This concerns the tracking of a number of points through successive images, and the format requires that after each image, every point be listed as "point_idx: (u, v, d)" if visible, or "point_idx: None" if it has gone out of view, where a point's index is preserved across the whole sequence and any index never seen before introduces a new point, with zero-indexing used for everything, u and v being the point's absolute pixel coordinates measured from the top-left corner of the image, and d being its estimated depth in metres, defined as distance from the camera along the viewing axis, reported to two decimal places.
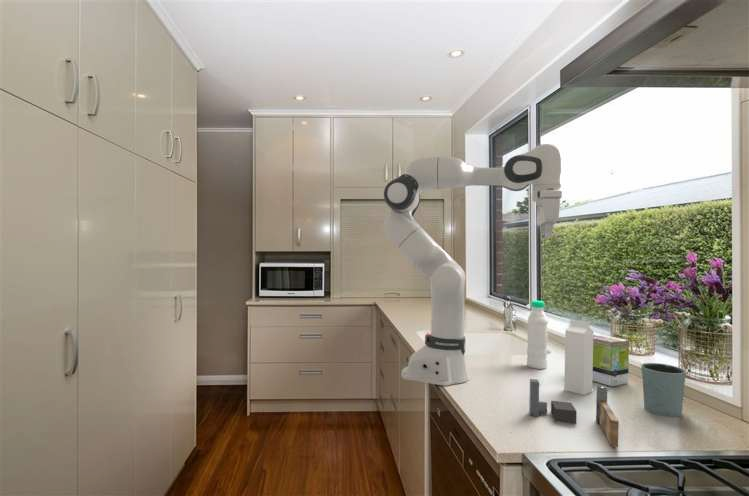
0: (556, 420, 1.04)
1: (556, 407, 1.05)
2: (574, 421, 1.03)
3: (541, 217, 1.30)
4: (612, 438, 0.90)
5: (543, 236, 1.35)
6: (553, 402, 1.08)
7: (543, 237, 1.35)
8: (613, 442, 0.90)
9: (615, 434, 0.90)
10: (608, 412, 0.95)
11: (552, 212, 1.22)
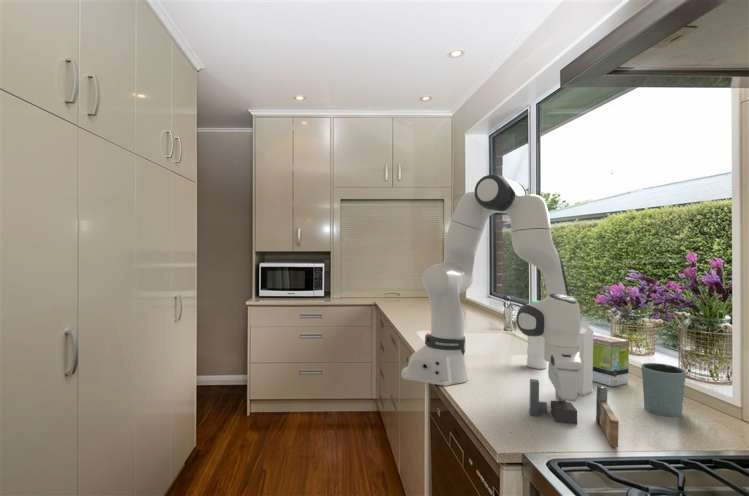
0: (557, 420, 1.03)
1: (557, 407, 1.04)
2: (575, 421, 1.02)
3: (555, 383, 1.09)
4: (612, 438, 0.90)
5: None
6: (553, 402, 1.08)
7: None
8: (613, 442, 0.90)
9: (615, 434, 0.90)
10: (608, 412, 0.95)
11: (569, 390, 1.01)
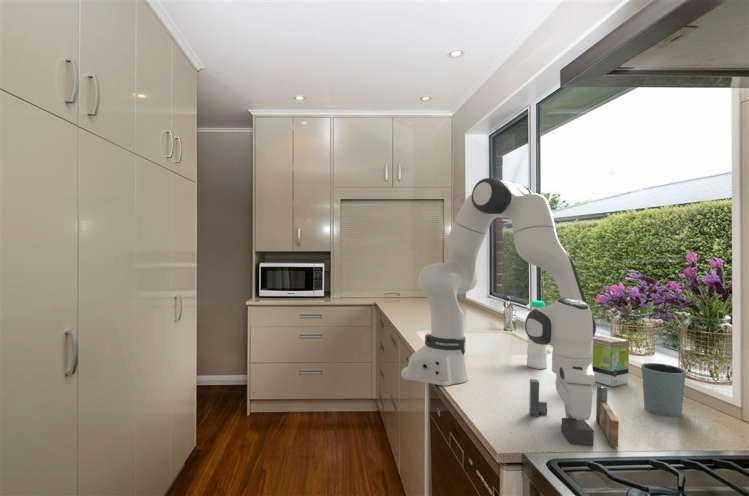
0: (571, 441, 0.91)
1: (570, 426, 0.92)
2: (591, 442, 0.91)
3: (564, 398, 0.97)
4: (612, 438, 0.90)
5: None
6: (565, 420, 0.96)
7: None
8: (613, 442, 0.90)
9: (615, 434, 0.90)
10: (608, 412, 0.95)
11: (582, 408, 0.89)
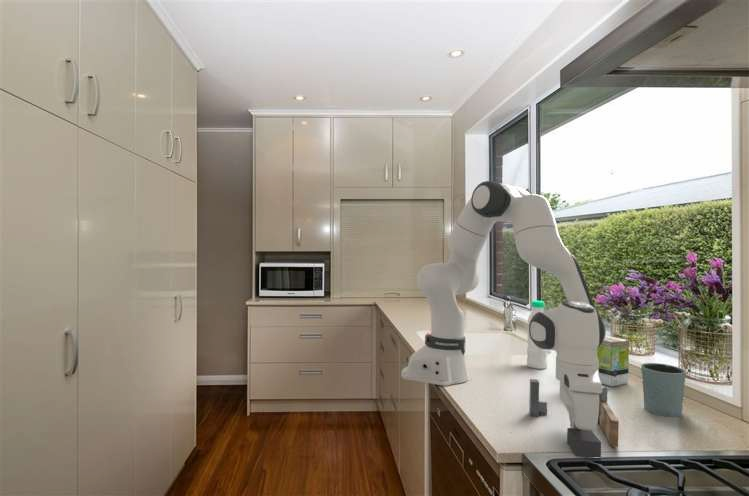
0: (577, 454, 0.86)
1: (576, 438, 0.87)
2: (598, 455, 0.85)
3: (569, 406, 0.92)
4: (612, 438, 0.90)
5: None
6: (571, 430, 0.91)
7: None
8: (613, 442, 0.90)
9: (615, 434, 0.90)
10: (608, 412, 0.95)
11: (588, 418, 0.84)
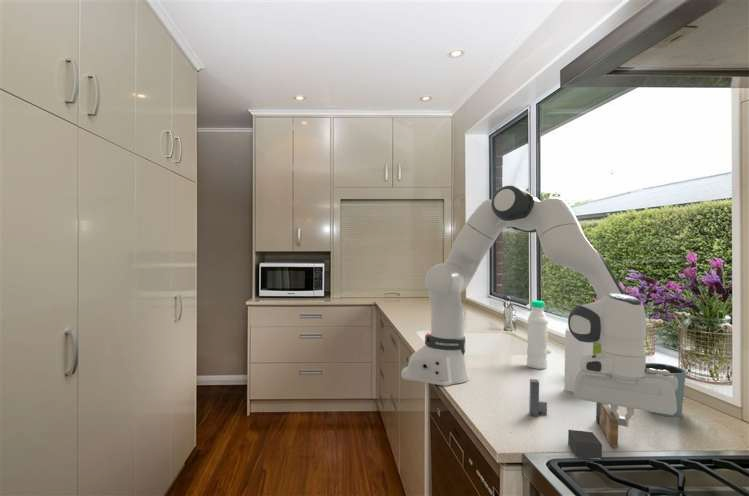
0: (577, 456, 0.86)
1: (577, 439, 0.87)
2: (599, 457, 0.85)
3: None
4: (612, 438, 0.90)
5: None
6: (571, 432, 0.90)
7: None
8: (613, 442, 0.90)
9: (615, 434, 0.90)
10: (608, 412, 0.95)
11: None
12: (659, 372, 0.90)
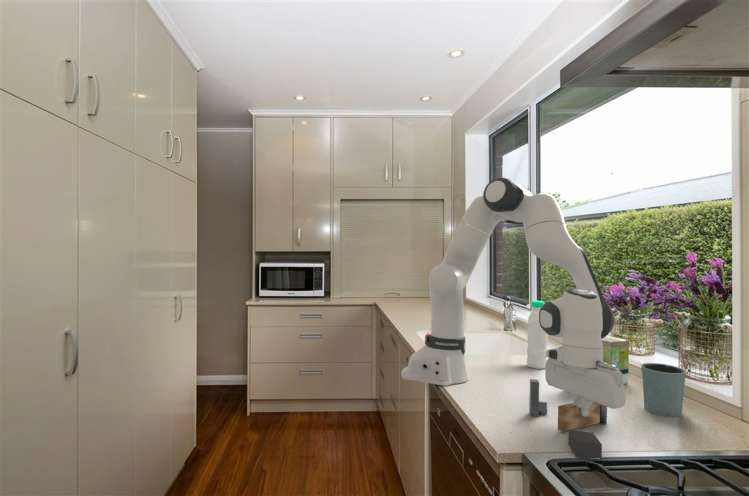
0: (577, 455, 0.86)
1: (577, 439, 0.87)
2: (599, 457, 0.85)
3: None
4: (558, 422, 0.98)
5: None
6: (571, 432, 0.90)
7: None
8: (559, 426, 0.98)
9: (560, 419, 0.97)
10: (573, 403, 1.00)
11: None
12: (606, 366, 0.92)
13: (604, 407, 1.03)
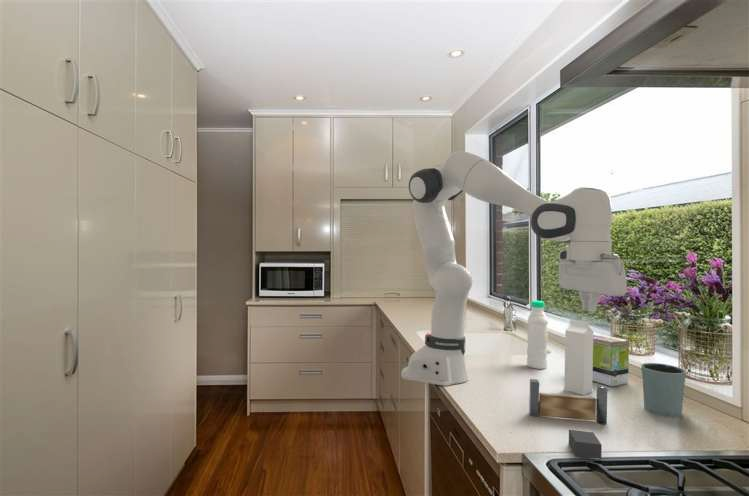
0: (577, 455, 0.86)
1: (576, 439, 0.87)
2: (599, 457, 0.85)
3: None
4: (539, 408, 1.07)
5: None
6: (572, 432, 0.90)
7: None
8: (539, 411, 1.07)
9: (539, 405, 1.06)
10: (559, 394, 1.06)
11: None
12: (609, 256, 0.92)
13: (604, 407, 1.03)
